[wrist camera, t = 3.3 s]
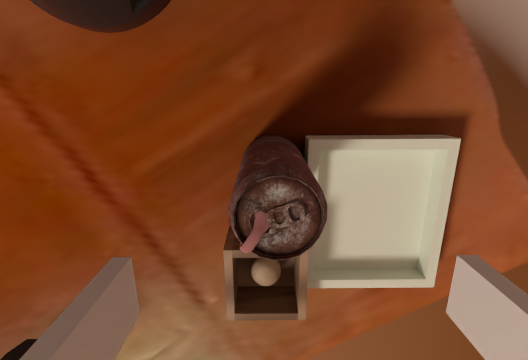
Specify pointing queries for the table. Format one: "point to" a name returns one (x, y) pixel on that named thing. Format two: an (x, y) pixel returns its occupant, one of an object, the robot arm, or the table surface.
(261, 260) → the cork ball
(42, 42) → the table surface
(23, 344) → the robot arm
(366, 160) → the tray
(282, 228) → the can
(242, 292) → the square wooden box
